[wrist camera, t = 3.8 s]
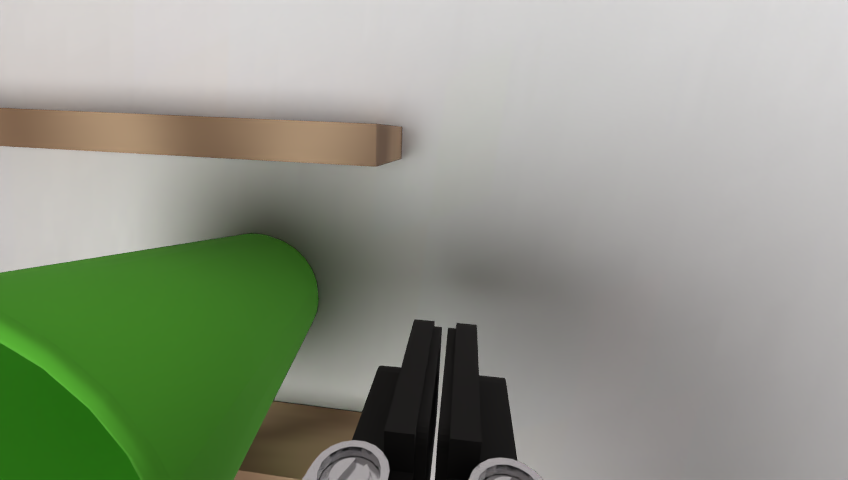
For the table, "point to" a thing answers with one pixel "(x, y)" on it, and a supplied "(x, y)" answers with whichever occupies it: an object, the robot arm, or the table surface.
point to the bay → (235, 139)
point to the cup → (148, 359)
